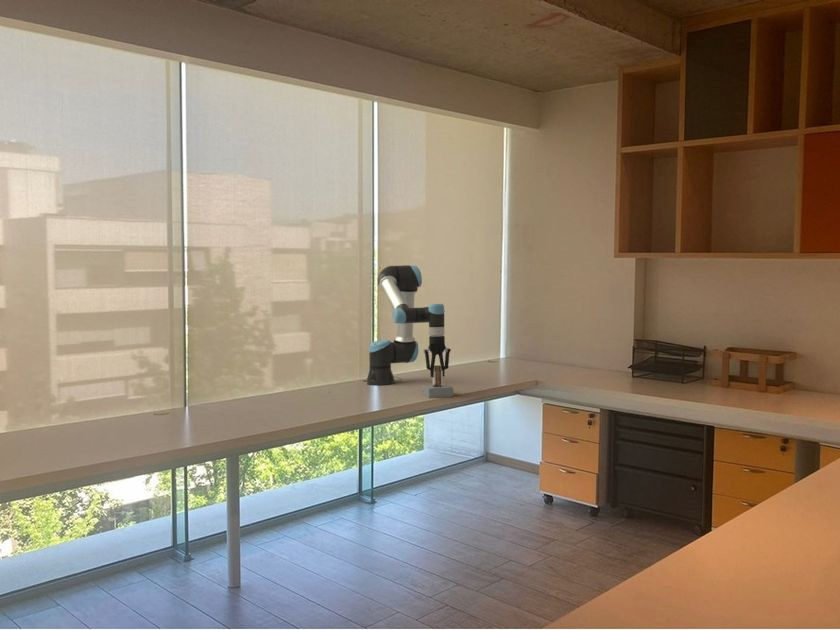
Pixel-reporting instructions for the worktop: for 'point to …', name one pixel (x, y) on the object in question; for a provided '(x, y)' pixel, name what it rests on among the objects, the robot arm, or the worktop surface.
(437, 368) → the dowel
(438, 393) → the socket block
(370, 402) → the worktop surface
